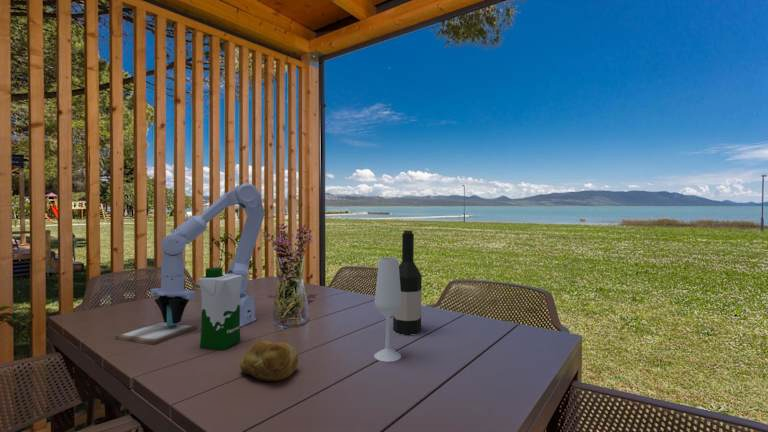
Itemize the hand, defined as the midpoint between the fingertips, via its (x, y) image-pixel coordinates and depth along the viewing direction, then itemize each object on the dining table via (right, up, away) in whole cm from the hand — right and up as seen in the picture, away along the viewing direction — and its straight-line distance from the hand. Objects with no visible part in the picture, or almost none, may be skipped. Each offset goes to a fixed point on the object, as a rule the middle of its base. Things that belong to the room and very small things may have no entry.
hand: (172, 321), depth 105 cm
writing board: (-3, -3, -2) cm, 5 cm away
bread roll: (+37, -4, -27) cm, 46 cm away
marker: (0, -1, 0) cm, 1 cm away
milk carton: (+19, -3, -10) cm, 22 cm away
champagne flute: (+63, -4, -17) cm, 65 cm away
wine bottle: (+69, -4, +2) cm, 69 cm away
